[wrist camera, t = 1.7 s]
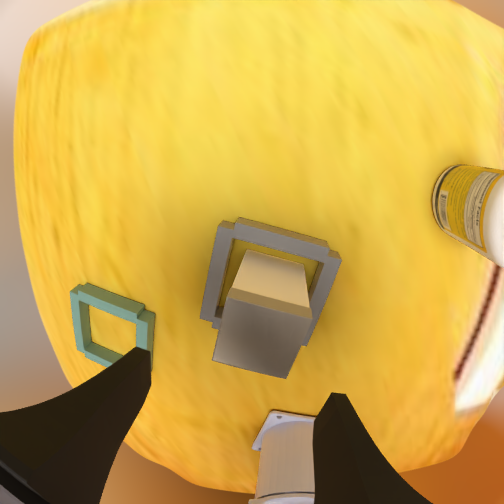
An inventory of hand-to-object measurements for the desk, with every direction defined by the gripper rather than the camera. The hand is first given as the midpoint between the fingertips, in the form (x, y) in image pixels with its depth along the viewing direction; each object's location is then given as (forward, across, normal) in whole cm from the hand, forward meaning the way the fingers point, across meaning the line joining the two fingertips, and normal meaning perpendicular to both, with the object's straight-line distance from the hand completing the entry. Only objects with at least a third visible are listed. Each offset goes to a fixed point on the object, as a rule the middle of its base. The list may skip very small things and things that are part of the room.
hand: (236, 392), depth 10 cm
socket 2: (+11, -1, 0) cm, 11 cm away
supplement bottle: (+11, -13, -9) cm, 19 cm away
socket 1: (+11, +12, +9) cm, 18 cm away
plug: (+11, -1, 0) cm, 11 cm away
